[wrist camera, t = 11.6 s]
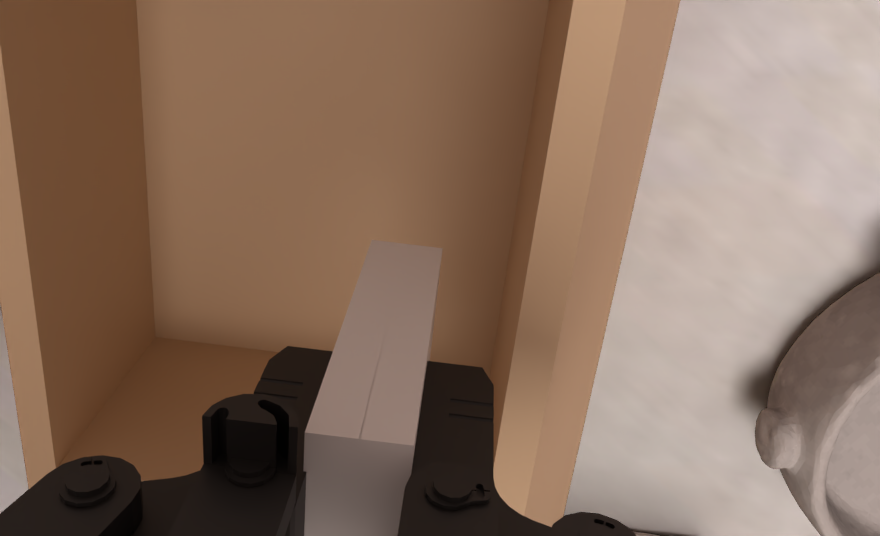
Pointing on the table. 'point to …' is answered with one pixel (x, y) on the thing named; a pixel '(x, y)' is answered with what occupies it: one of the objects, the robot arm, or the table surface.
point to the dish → (830, 416)
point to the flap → (579, 242)
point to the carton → (251, 196)
